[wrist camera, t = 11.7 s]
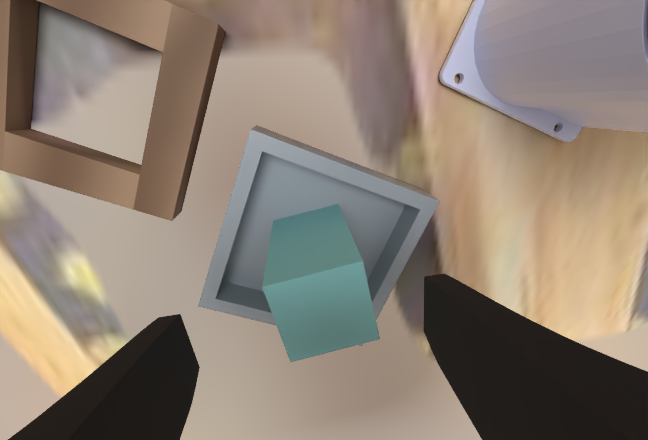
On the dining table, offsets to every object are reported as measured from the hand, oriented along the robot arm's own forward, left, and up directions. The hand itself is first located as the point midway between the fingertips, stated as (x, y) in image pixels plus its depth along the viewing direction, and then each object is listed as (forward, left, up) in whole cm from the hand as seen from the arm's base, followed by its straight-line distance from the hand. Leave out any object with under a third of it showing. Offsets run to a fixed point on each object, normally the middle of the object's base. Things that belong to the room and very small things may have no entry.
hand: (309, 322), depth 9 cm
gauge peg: (-1, +2, -10) cm, 10 cm away
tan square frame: (+12, -2, -10) cm, 16 cm away
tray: (-1, +2, -10) cm, 11 cm away
